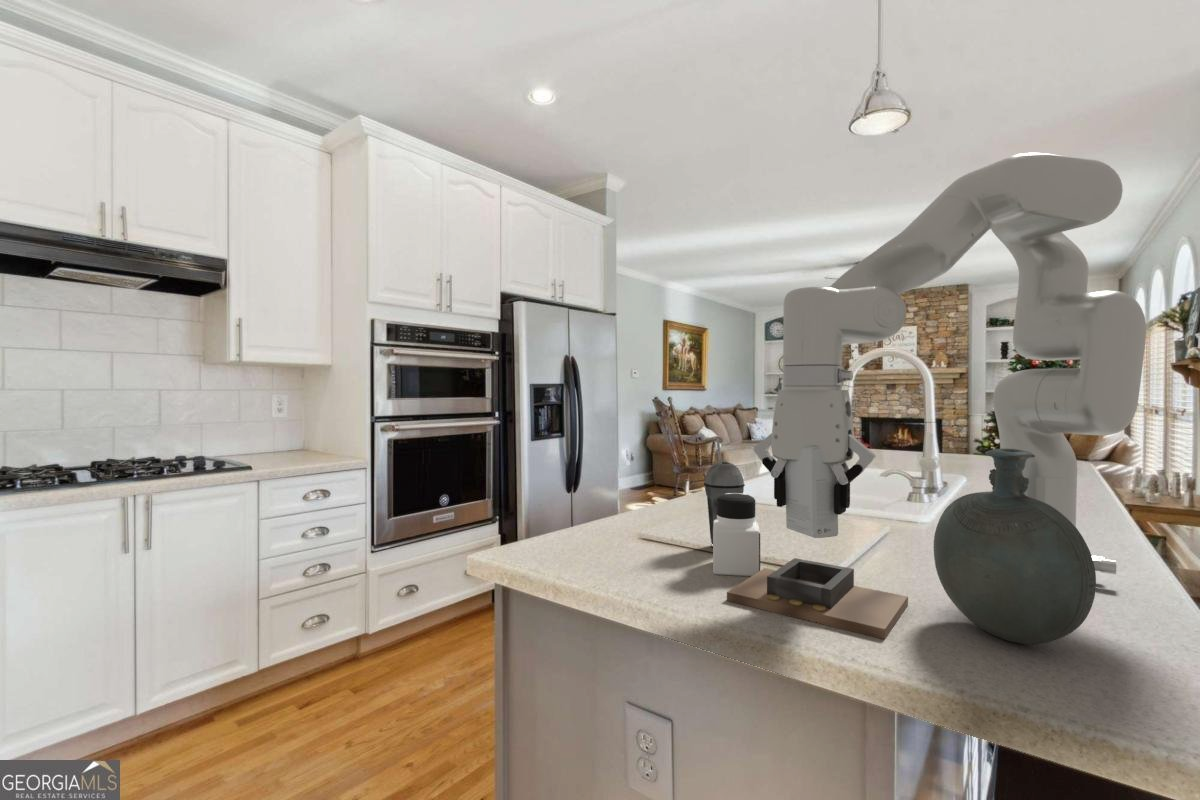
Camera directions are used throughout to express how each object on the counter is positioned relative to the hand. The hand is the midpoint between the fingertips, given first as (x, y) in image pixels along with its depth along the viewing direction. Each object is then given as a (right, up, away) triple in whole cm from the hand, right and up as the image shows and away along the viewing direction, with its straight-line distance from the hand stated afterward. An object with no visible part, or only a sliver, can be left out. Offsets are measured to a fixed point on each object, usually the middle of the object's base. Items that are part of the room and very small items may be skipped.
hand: (810, 507), depth 80 cm
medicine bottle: (-7, -13, +14) cm, 20 cm away
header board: (0, -13, -1) cm, 13 cm away
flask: (+19, -13, -12) cm, 26 cm away
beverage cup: (-6, -12, +26) cm, 29 cm away
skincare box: (0, -4, 0) cm, 4 cm away
